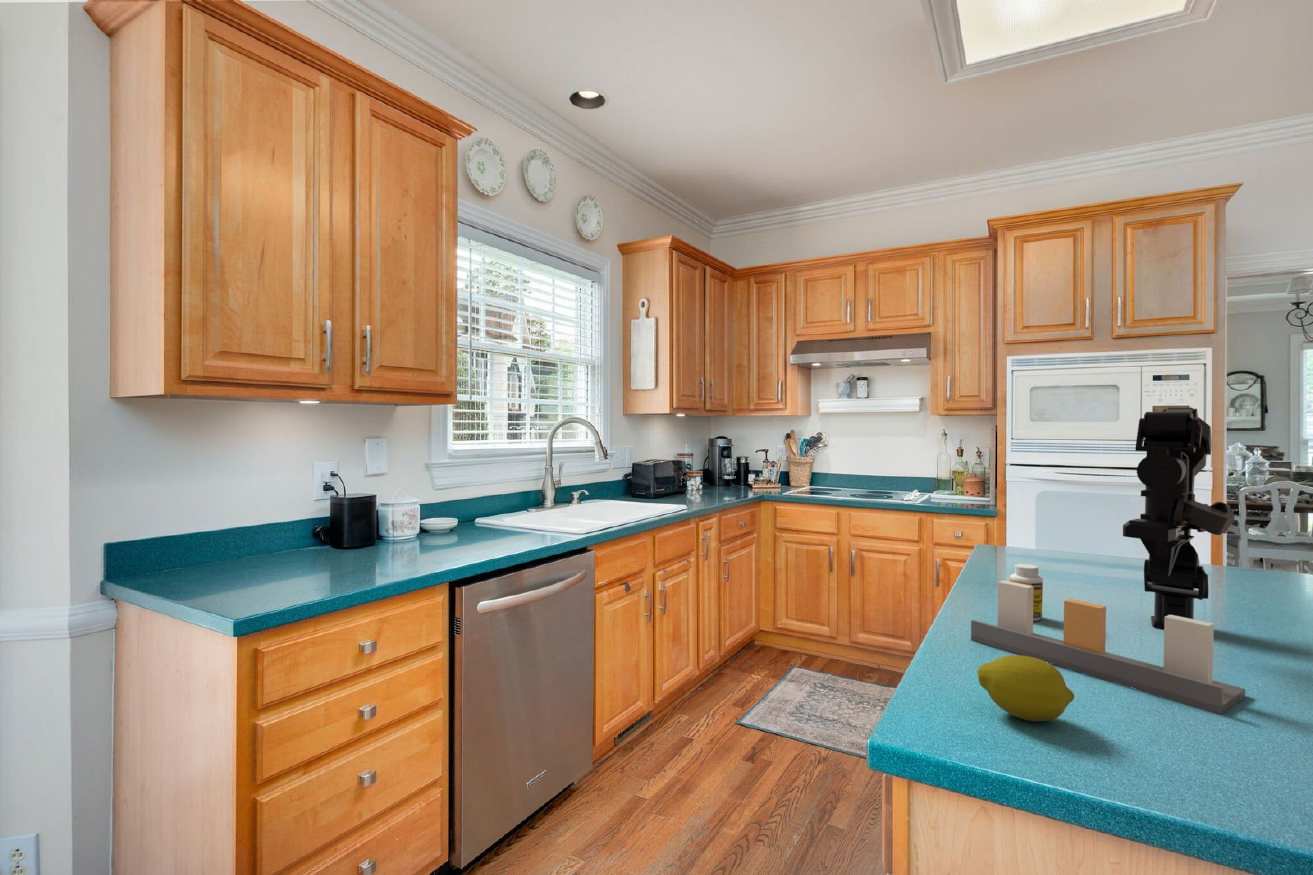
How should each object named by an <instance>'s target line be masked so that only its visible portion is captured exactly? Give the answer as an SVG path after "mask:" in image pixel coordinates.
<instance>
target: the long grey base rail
mask: <svg viewBox="0 0 1313 875" xmlns="http://www.w3.org/2000/svg"><path fill="white" fill-rule="evenodd" d="M970 624H971V625H970V640H971V641H973V642H975V643H979V644H982V645H987V646H990V647H993V648H995V649H999V650H1003V651H1006V652H1009V653H1013V654H1015V655H1022V656H1029V657H1034V658H1037V659H1041V660H1043V661H1045V662H1048V663H1051V665H1053V664H1056V665H1058V666H1057V667H1059V666H1061V667H1060V668H1063V667H1064V668H1063V669H1066V668H1069V669H1068V670H1070V669H1072V670H1071V671H1073V670H1075V671H1074V672H1076V671H1077V672H1078V673H1080V674H1083V673H1085V674H1084V675H1086V674H1087V676H1091V677H1093V678H1097V679H1101V680H1103V681H1107V682H1110V683H1113V682H1116V683H1115V684H1117V683H1119V684H1118V685H1120V684H1121V685H1120V686H1123V685H1124V687H1127V688H1130V687H1133V688H1136V689H1135V690H1137V689H1138V690H1137V691H1140V692H1144V691H1145V692H1144V693H1147V692H1149V693H1148V694H1150V693H1151V694H1150V695H1154V696H1157V697H1160V696H1161V697H1160V698H1164V699H1167V700H1171V701H1175V702H1178V703H1181V704H1184V705H1188V706H1191V707H1194V708H1198V709H1200V710H1201V709H1202V710H1205V711H1207V712H1212V713H1214V714H1218V715H1223V714H1224V713H1225V712H1226V711H1228V710H1229V709H1230V708H1232V707H1233V706H1234V705H1235V704H1236V703H1238V702H1239V701H1241V700H1242V699H1243V698H1244V697H1246V688H1245V687H1244V688H1243V687H1239V686H1236V685H1232V684H1229V683H1225V682H1220V681H1217V680H1213V684H1211V683H1207V682H1203V681H1199V680H1196V679H1192V678H1188V677H1184V676H1181V675H1177V674H1173V673H1170V672H1166V671H1164V666H1160V665H1156V664H1153V663H1150V662H1149V663H1148V662H1145V661H1141V660H1137V659H1133V658H1129V657H1127V656H1122V655H1119V654H1115V653H1110V652H1107V651H1105V655H1103V654H1099V653H1095V652H1091V651H1088V650H1084V649H1080V648H1076V647H1073V646H1069V645H1065V644H1064V640H1062V639H1058V638H1055V637H1052V636H1046V635H1043V634H1040V633H1035V632H1033V636H1032V635H1028V634H1024V633H1021V632H1017V631H1013V630H1009V629H1006V628H1002V627H998V625H994V624H991V623H987V622H984V621H979V620H975V619H972V620H971V621H970ZM1056 665H1055V666H1056ZM1133 688H1132V689H1133Z"/></svg>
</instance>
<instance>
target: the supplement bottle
mask: <svg viewBox="0 0 1313 875" xmlns="http://www.w3.org/2000/svg"><path fill="white" fill-rule="evenodd" d="M1009 581H1010V582H1015V583H1020V584H1025V585H1029V586H1034V589H1033V622H1037V621H1041V619H1042V618H1043V595H1044V594H1043V589H1044V588H1043V587H1044V586H1043V584H1044V583H1043V581H1044V580H1043V577H1042V576H1040V575H1039V567H1038V566H1037V565H1035V564H1028V563H1017V564H1015V565H1014V573H1011V575H1010V576H1009Z"/></svg>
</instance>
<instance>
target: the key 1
mask: <svg viewBox="0 0 1313 875" xmlns="http://www.w3.org/2000/svg"><path fill="white" fill-rule="evenodd" d="M1033 589H1034V586H1029V585H1025V584H1020V583H1015V582H1010V580H999V581H998V582H997V626H998V627H1002V628H1006V629H1009V630H1013V631H1017V632H1021V633H1024V634H1028V635H1032V636H1033V633H1034V621H1033Z"/></svg>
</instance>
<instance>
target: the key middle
mask: <svg viewBox="0 0 1313 875" xmlns="http://www.w3.org/2000/svg"><path fill="white" fill-rule="evenodd" d="M1106 626H1107V606H1106V605H1102V604H1097V603H1092V602H1087V601H1083V600H1078V599H1074V598H1068V599H1065V600H1064V601H1063V641H1064V644H1065V645H1069V646H1073V647H1076V648H1080V649H1084V650H1088V651H1091V652H1095V653H1099V654H1103V655H1105V652H1106V640H1107V639H1106V638H1107V637H1106V635H1107V634H1106V633H1107V632H1106V631H1107V629H1106V628H1107V627H1106Z"/></svg>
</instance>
